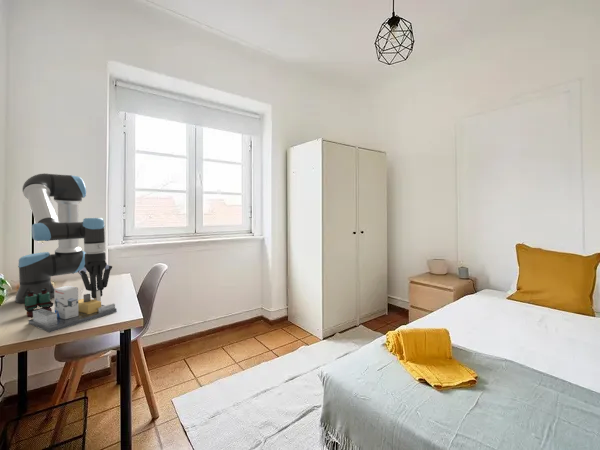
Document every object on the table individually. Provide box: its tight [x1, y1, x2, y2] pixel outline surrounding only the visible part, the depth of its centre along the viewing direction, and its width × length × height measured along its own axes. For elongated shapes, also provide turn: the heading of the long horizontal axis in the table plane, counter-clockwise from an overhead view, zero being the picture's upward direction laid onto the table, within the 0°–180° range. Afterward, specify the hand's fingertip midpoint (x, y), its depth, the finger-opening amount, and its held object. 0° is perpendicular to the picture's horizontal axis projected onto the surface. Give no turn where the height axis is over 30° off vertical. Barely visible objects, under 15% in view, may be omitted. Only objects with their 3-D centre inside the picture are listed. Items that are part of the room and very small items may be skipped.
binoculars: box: [24, 288, 55, 318], centre depth 120 cm, size 9×11×10 cm
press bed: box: [27, 298, 117, 333], centre depth 116 cm, size 18×24×6 cm
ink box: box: [53, 285, 79, 319], centre depth 113 cm, size 9×5×12 cm, turn 65°
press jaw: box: [78, 293, 102, 314], centre depth 120 cm, size 12×5×7 cm, turn 63°
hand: (97, 304), depth 123 cm, fingers closed
